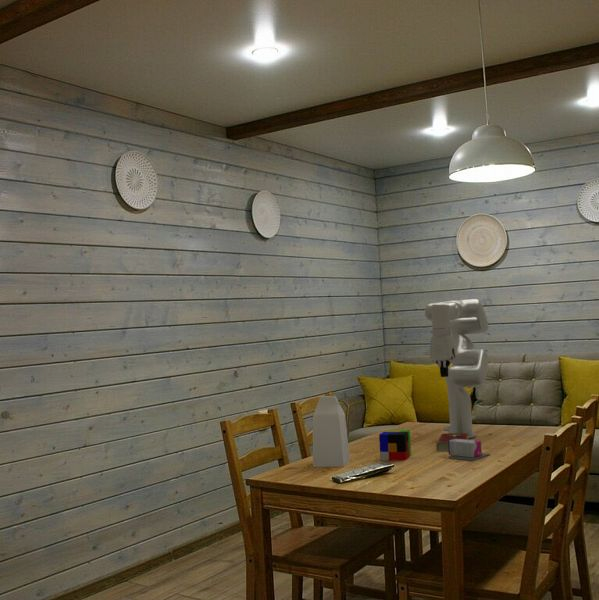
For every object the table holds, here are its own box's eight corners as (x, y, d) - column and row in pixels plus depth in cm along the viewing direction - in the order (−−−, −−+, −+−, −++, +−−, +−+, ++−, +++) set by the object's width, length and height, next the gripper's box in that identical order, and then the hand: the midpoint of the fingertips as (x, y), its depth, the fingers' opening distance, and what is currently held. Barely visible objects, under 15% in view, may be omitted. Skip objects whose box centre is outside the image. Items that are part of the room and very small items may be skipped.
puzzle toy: (380, 460, 288) (379, 434, 288) (386, 455, 297) (385, 430, 298) (405, 460, 285) (404, 434, 285) (411, 455, 294) (409, 430, 294)
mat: (449, 458, 283) (449, 457, 283) (467, 452, 293) (467, 451, 293) (471, 461, 276) (471, 459, 276) (490, 455, 285) (490, 453, 285)
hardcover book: (437, 452, 300) (436, 441, 300) (441, 442, 320) (440, 432, 320) (467, 451, 297) (466, 441, 297) (469, 442, 317) (469, 432, 317)
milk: (313, 466, 283) (309, 398, 284) (320, 460, 294) (316, 395, 295) (343, 466, 280) (339, 397, 280) (349, 460, 291) (346, 394, 291)
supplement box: (448, 455, 288) (473, 458, 279) (447, 440, 288) (472, 442, 279) (457, 453, 292) (482, 455, 283) (456, 438, 292) (481, 440, 283)
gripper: (421, 333, 311) (424, 377, 311) (451, 332, 301) (454, 378, 300) (432, 332, 317) (434, 375, 316) (462, 331, 306) (464, 376, 306)
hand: (444, 376), depth 308 cm, fingers closed
